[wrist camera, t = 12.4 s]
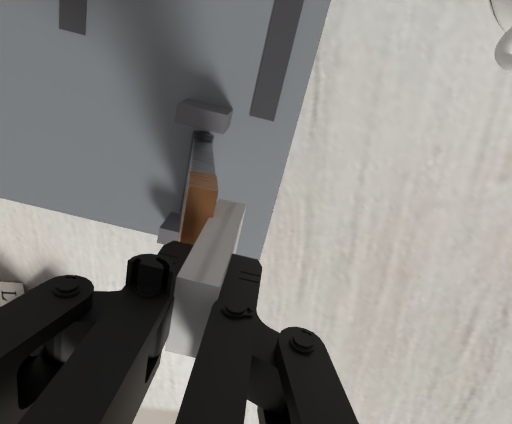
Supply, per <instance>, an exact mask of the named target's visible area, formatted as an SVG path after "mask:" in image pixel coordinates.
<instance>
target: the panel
mask: <svg viewBox="0 0 512 424" xmlns="http://www.w3.org/2000/svg"><path fill="white" fill-rule="evenodd" d="M330 1H331V0H0V198H3V199H7V200H12V201H16V202H20V203H24V204H28V205H32V206H37V207H41V208H45V209H49V210H53V211H58V212H62V213H66V214H70V215H74V216H78V217H83V218H87V219H91V220H95V221H99V222H104V223H108V224H112V225H116V226H120V227H124V228H129V229H133V230H137V231H141V232H145V233H150V234H154V235H158V240H157V243H161V244H167V243H169V242H171V241H173V240H174V241H178V239H179V230H180V221H181V213H180V207H181V201H182V195H183V189H184V183H185V177H186V171H187V164H188V158H189V152H190V146H191V140H192V134H193V131H196V130H197V131H205V132H208V133H211V134H213V135H214V139H213V144H212V147H213V156H214V165H215V175H217V182H218V191H219V192H218V197H217V202H218V200H219V199H223V200H228V201H232V202H236V203H240V204H245V205H246V209H245V214H244V218H243V222H242V227H241V231H240V236H239V240H238V245H237V249H236V254H237V255H242V256H246V257H250V258H254V259H258V260H260V256H261V252H262V249H263V245H264V241H265V238H266V234H267V231H268V227H269V223H270V220H271V216H272V212H273V209H274V205H275V201H276V198H277V194H278V191H279V187H280V183H281V180H282V176H283V172H284V169H285V165H286V161H287V158H288V154H289V150H290V147H291V143H292V140H293V136H294V132H295V129H296V125H297V121H298V118H299V114H300V110H301V107H302V103H303V99H304V96H305V92H306V89H307V85H308V81H309V78H310V74H311V70H312V67H313V63H314V59H315V56H316V52H317V49H318V45H319V41H320V38H321V34H322V30H323V27H324V23H325V19H326V16H327V12H328V8H329V5H330ZM217 202H216V204H217Z"/></svg>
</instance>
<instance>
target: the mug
mask: <svg viewBox="0 0 512 424" xmlns="http://www.w3.org/2000/svg"><path fill="white" fill-rule="evenodd" d="M491 2H492V7H493V10H494V13H495V16H496V18H497V20H498V22H499V24H500V26H501V27H502V29H503V30H504V31H505V34H504V35H503V36H502V38H501V39H500V41H499V42H498V44H497V46H496V48H495V53H494V55H495V60H496V62H497V63H498V65H499V66H500V67H501V68H502V69H504V70H506V71H509V72H512V0H491Z"/></svg>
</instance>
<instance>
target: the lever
mask: <svg viewBox="0 0 512 424" xmlns="http://www.w3.org/2000/svg"><path fill="white" fill-rule="evenodd" d="M213 139H214V135H213V134H211V133H208V132H205V131H197V130H196V131H193V134H192V140H191V146H190V152H189V158H188V164H187V171H186V177H185V183H184V189H183V195H182V201H181V207H180V213H181V221H180V230H179V239H178V241H179V242H183V243H187V244H191V245H194V244H195V242H196V241H197V239H198V237H199V235H200V233H201V231H202V230H203V228H204V226H205V224H206V222H207V220H208V219H209V218H213V216H214V211H215V206H216V202H217V197H218V192H219V191H218V182H217V175H215V165H214V156H213V147H212V144H213Z"/></svg>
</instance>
